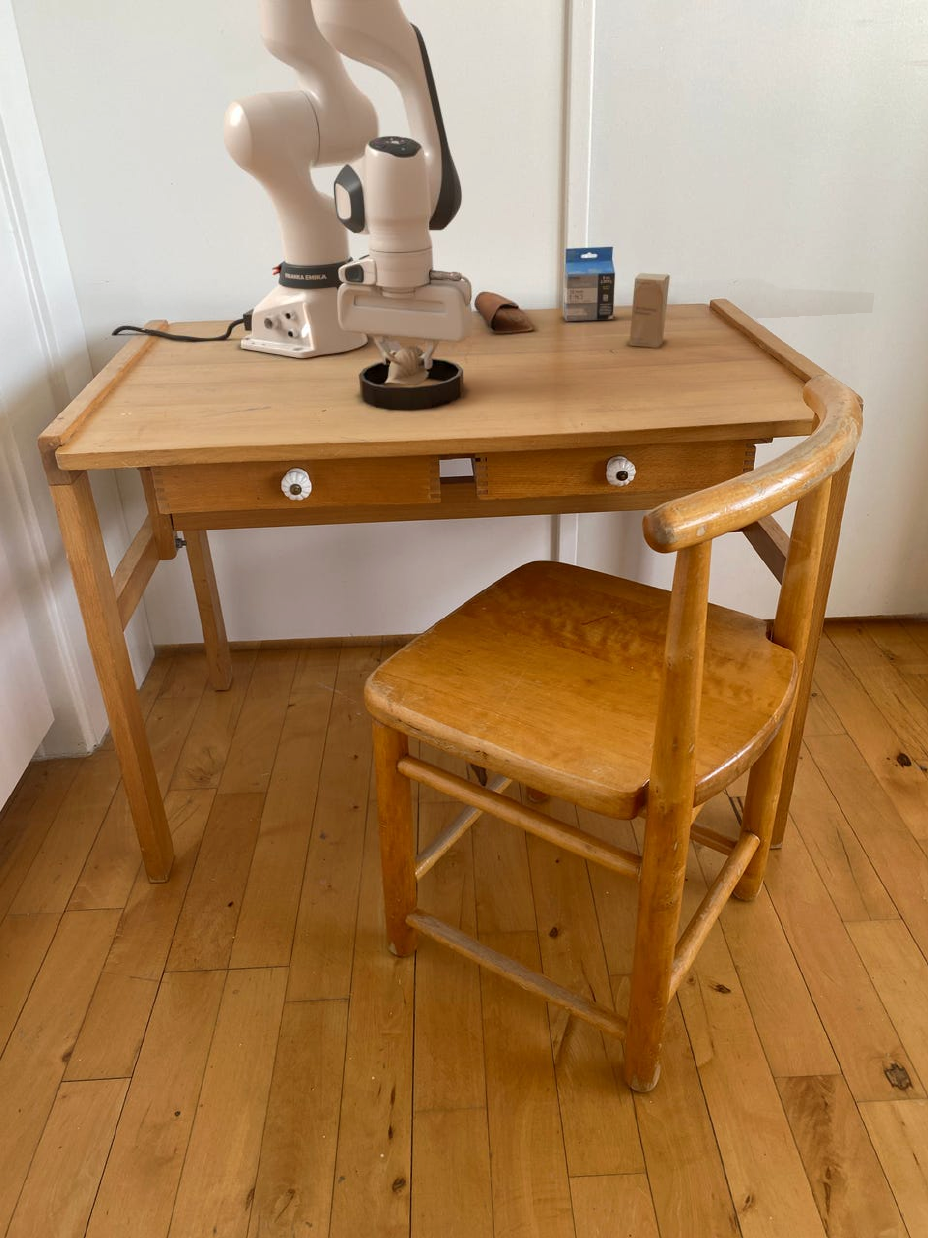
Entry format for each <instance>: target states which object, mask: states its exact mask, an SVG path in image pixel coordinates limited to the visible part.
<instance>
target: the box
mask: <svg viewBox="0 0 928 1238" xmlns="http://www.w3.org/2000/svg"><path fill="white" fill-rule="evenodd" d="M670 278H671V275H670V274H666V273H665V274H662V273H644V272H640V273H639V274H638V275H637V276H636V277H635V278H634V285H633V286H634V287H633V297H632V309H631V322H630V332H629V341H628V342H629V344H628V345H629V346H634V347H644V348H653V349H654V348H655V349H658V348H659V347H660V346H661V345H662V344H663V342H664V336H665V326H666V315H667V306H668V296H669V285H670Z"/></svg>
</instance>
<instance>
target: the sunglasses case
mask: <svg viewBox="0 0 928 1238" xmlns="http://www.w3.org/2000/svg"><path fill="white" fill-rule="evenodd" d="M474 309H475V310H476V311H477V312H478V313H479V314H480V315H481V317H482V319H484V321H485V323H486V324H487V326H488V327H489V329H490V330H491V331H492V332H493V333H494V334H497V335H499V334H502V335H507V334H508V335H510V334H519V333H527V332H530V331H534V326H533V324H532V322H531V321H530V320H529V318H528V317H527V315H525V314H524V312H523V311H522V310H521V309H520V306H519V304H517V303H516V302H514V301H512V300H511V299H508V298H506V297H504V296H502V295H500V294H497V293H495V292H490V291H481V292H479V293H478V294H477V295H476V296H475V299H474Z"/></svg>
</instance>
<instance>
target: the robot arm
mask: <svg viewBox="0 0 928 1238" xmlns="http://www.w3.org/2000/svg"><path fill="white" fill-rule="evenodd" d="M257 4H258V19H259V33H260V38H261V40H262V43H263V45H264V47H265V48H266V50H267V51H268V52H269V53H270V54H271V56H273V57H274V58H275V59H277V60H279V61H280V62H282V63H283V64H285V65H287V66H288V67H291V68H292V69H293V71H294V73H295V76H296V79H297V85H298V89H297V90H294V91H278V92H277V91H276V92H261V93H256V94H252V95H249V96H245V97H243V98H240V99H237V100H234V101H232V102H231V103H230V104H229V105H228V107H227V109H226V111H225V114H224V116H223V121H222V138H223V142H224V146H225V148H226V150H227V152H228V154H229V156H230V158H231V159H232V160H233V162H235V164H236V165H237V166H238V167H239V168H241V170H243V171H245V172H247V173H248V174H249V175H250V176H251V177H253V178H254V179H255V180H256V182H258V184H260V186H261V188H263V190H264V191H265V192H266V195H267V196H268V197H269V199H270V201H271V204H272V206H273V209H274V211H275V214H276V217H277V221H278V226H279V231H280V236H281V243H282V250H283V256H284V261H282V262H281V263H279V264H278V265H277V266H274V267H273V268H271V270H273V272H272V275H273V276H276V275H279V277H278V281H277V282H278V284H277V285H276V286H275V287H274V288H273V289H272V290H271V291H270V292H269V293H268V294H267V295H266V296H265V297H264V298H263V299H262V300H261V301H260V302H259V303H258V304H256V306H255V307H254V308H252V309H250V310H248V311H246V312H245V313H243V314H242V318H239V319H236V320H234V321H232V322H231V323H230V324H229V325H228V327H227V330H226V333H224V334H221V335H219V336H217V337H197V336H189V335H179V334H171V333H167V332H164V331H161V330H156V329H148V328H143V327H138V326H134V325H121V326H118V327H117V328H115V329H114V330H113V331H112V333H111V336H117V335H118V334H119V333H121V332H124V331H133V332H138V333H143V334H146V335H147V334H149V335H156V336H160V337H163V338H167V339H171V340H177V341H178V340H179V341H189V342H196V343H198V342H199V343H200V342H217V341H219V342H220V341H224V340H227V339H229V337H230V336H231V335H232V331H233V329H234V328H235V327H237V326H238V325H241V324H243V325H244V331H245V332H251V333H249V334H247V335H246V336H244V337H243V338H242V339H241V341H240V348H241V349H242V350H243V349H244V350H250V351H255V352H256V351H257V352H260V353H268V354H274V355H280V356H286V357H293V358H296V359H297V358H298V359H306V358H311V357H316V356H321V355H330V354H338V353H343V352H348V351H352V350H355V349H358V348H361V347H362V346H364V345H366V344H367V343H368V337H367V334H368V335H373V341H374V343H375V345H376V347H377V348H378V351H380V354H381V355H382V357H381V358H382V362H383V364H384V365H390V364H391V361H390V360H389V359H387V358H386V357H385V356H384V352H389V353H391V354H393V355H395V354H396V351H392V350H391V349H390V347H389V345H388V343H387V342H388V341H387V340H388V339H389V337H399V338H409V339H418V340H423V341H424V347H427V349H426V351H425V352H424V353H425V354H422V355H421V356H419V357H418V360H419V368H422V369H430V368H431V367H432V365H433V362H432V358H433V355H434V353H435V351H436V350H437V348H438V346H439V344H440V341H443V342H450V343H451V342H452V343H462V342H465V341H467V339H469V338H470V336H471V335H472V334H473V332H474V318H473V310H472V303H471V301H472V297H473V295H472V292H473V291H472V288H473V287H472V283H471V281H470V280H469V279H468V278H467V277H466V276H464V275H463V274H462V273H461V272H459V271H451V272H450V271H444V270H435V269H434V246H433V239H432V236H431V233H430V232H431V231H442V230H445V229H446V228H447V227H448V226H449V225H450V223H451V222H452V221H453V220H454V219H455V217H456V216H457V215H458V212H459V211H460V208H461V206H462V202H463V201H462V200H463V193H462V191H463V190H462V185H461V180H460V176H459V173H458V170H457V167H456V164H455V162H454V159H453V156H452V153H451V149H450V145H449V141H448V137H447V131H446V128H445V124H444V119H443V114H442V113H443V112H442V110H441V105H440V100H439V96H438V91H437V90H438V89H437V85H436V81H435V77H434V73H433V69H432V65H431V60H430V56H429V53H428V49H427V46H426V42H425V40H424V37H423V34H422V32H421V31H420V29H419V27H418V26H417V25H415V24H414V23H412V22H410V21H409V18H408V17H407V16H406V14H405V12H404V10H403V7H402V6H401V4H400V0H257ZM341 54H342V55H343V56H345V57H347V58H349V59H350V60H353V61H355V62H358V63H360V64H363V65H365V66H367V67H370V68H372V69H375V70H376V71H377V72H380V73H382V74H383V75H385V76H386V77H387V78H388V79H389V80H391V81H392V82H393V83H394V85H395V86H396V87H397V89H398V91H399V94H400V95H401V99H402V102H403V107H404V111H405V115H406V120H407V123H408V127H409V128H408V129H409V132H410V137H411V138H410V137H403V136H398V135H387V136H386V135H384V136H381V135H380V134H381V125H380V123H381V122H380V119H379V115H378V112H377V109H376V107H375V105H374V103H373V102H372V101H371V99H370V98H369V97H368V95H366V94H365V93H364V92H363V91H362V90H360V89H359V87H358V86H357V85H356V83H354V81H353V79H352V78H351V76H350V75H349V72H348V71H347V69H346V67H345V64H344V62H343V59H342V56H341ZM340 166H343V167H342V168H341V170H340V171H339V172H338V174H337V175H336V177H335V179H334V181H333V196H331V195H329V194H328V193H325V192H323V191H321V190H318V189H317V188H316V185H315V184H314V181H313V179H312V178H313V177H312V173H311V169H312V170H313V169H321V168H322V169H323V168H331V167H340ZM349 231H350V232H351V233H353V234H358V235H363V236H364V235H365V236H366V235H367V236H368V235H369V243H368V244H369V245H368V253H369V254H367V255H366V254H365V255H363V256H361V257H359V258H356V259H354V258H353V257H352V256H351V248H350V240H349ZM274 270H275V271H274ZM142 329H145V330H142Z"/></svg>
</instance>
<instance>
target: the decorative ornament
mask: <svg viewBox="0 0 928 1238" xmlns="http://www.w3.org/2000/svg"><path fill="white" fill-rule="evenodd" d="M425 353H426V352H424V350H423V349H422V348H421V347H420V346H418V345H407V346H405V347H402V349H401V350H400V351H398V352H397V353H396V354H395V355H393V354H391V353H389V352H384V356H385V357H386V358H387V359H389V360H390V361H391V364H390V367H389V373H388V379H387V380H386V382H385V383H384V384H395V385H396V384H397V385H402V386H403V385H407V386H412V385H413V386H414V385H415V386H417V385H420V384H422V383H425V381H426V380H427V379H426V378H427V377H428V374H429V372H428V371H426V369H422V368H419V360H418V357H419V356H421V355H422V354H425Z"/></svg>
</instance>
